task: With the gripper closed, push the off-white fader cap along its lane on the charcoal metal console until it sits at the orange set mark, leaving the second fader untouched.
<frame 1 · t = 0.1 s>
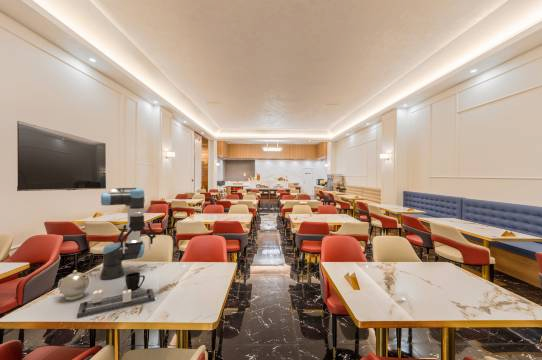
hand: (136, 251, 149), 28 cm above the table, fingers open, 13 cm apart
console: (118, 303, 142), on the table
fader b: (126, 295, 140), point 5 cm above the table, slide at 16.0 cm
fader a: (97, 296, 140), point 5 cm above the table, slide at 2.0 cm
mug: (135, 289, 161), on the table
teapot: (72, 297, 150), on the table
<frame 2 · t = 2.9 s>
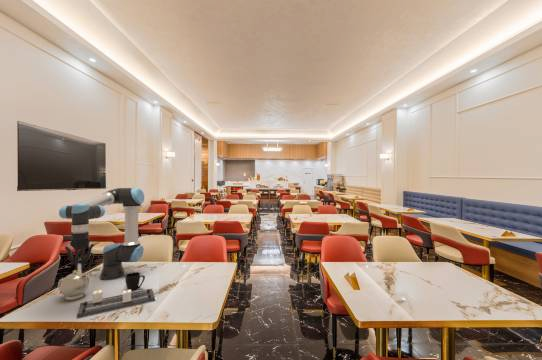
hand: (79, 275, 136), 18 cm above the table, fingers closed
nothing on the table moved.
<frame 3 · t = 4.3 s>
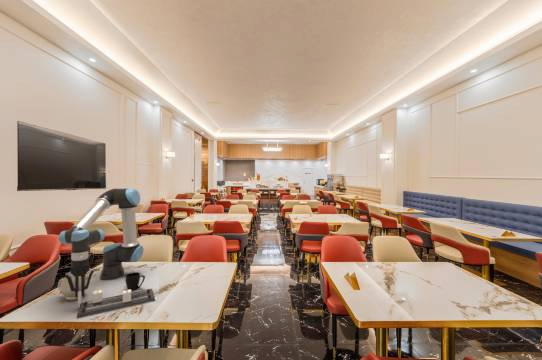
hand: (79, 302, 136), 4 cm above the table, fingers closed
nothing on the table moved.
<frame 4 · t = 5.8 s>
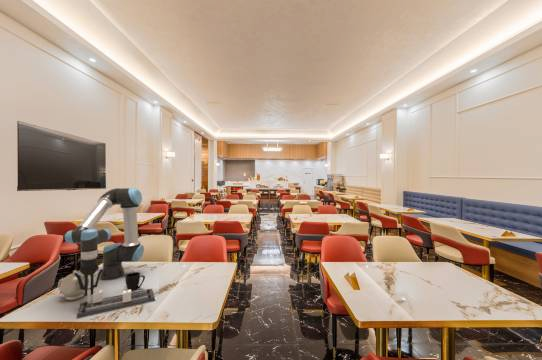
hand: (89, 300, 138), 4 cm above the table, fingers closed
fader a: (98, 296, 140), point 5 cm above the table, slide at 2.1 cm, touching gripper
everything else where it was.
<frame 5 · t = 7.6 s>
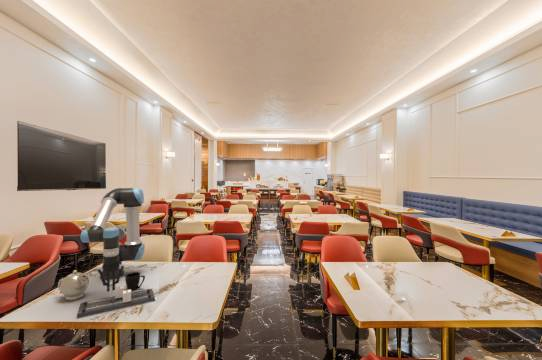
hand: (110, 296, 143), 4 cm above the table, fingers closed
fader a: (119, 291, 145), point 5 cm above the table, slide at 12.3 cm, touching gripper
everything else where it was.
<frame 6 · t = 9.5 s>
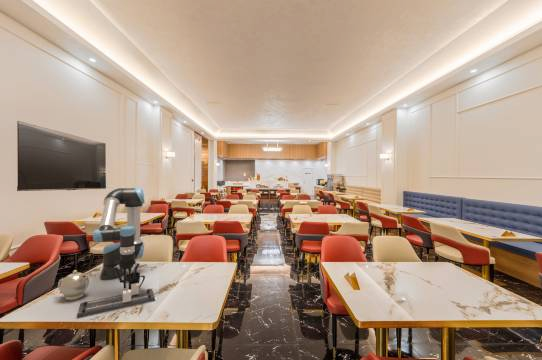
hand: (127, 293, 147), 4 cm above the table, fingers closed
fader a: (135, 288, 150), point 5 cm above the table, slide at 20.3 cm, touching gripper
everything else where it was.
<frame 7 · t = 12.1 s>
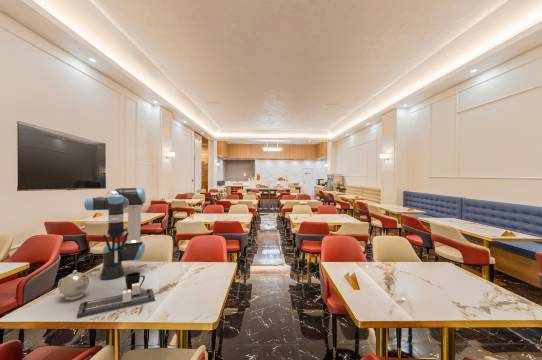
hand: (116, 262, 146), 23 cm above the table, fingers closed
fader a: (135, 288, 150), point 5 cm above the table, slide at 20.8 cm
everything else where it was.
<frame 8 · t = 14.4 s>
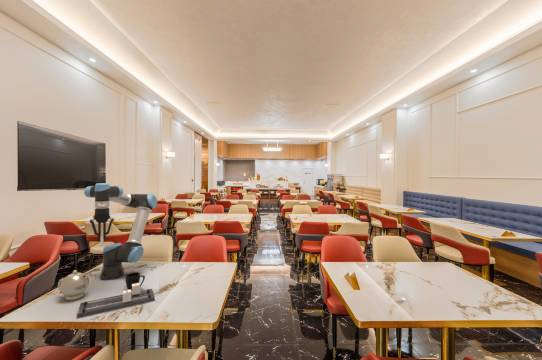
hand: (102, 245, 156), 29 cm above the table, fingers closed
nothing on the table moved.
at the end: fader a slide at 20.8 cm; fader b slide at 16.0 cm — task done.
